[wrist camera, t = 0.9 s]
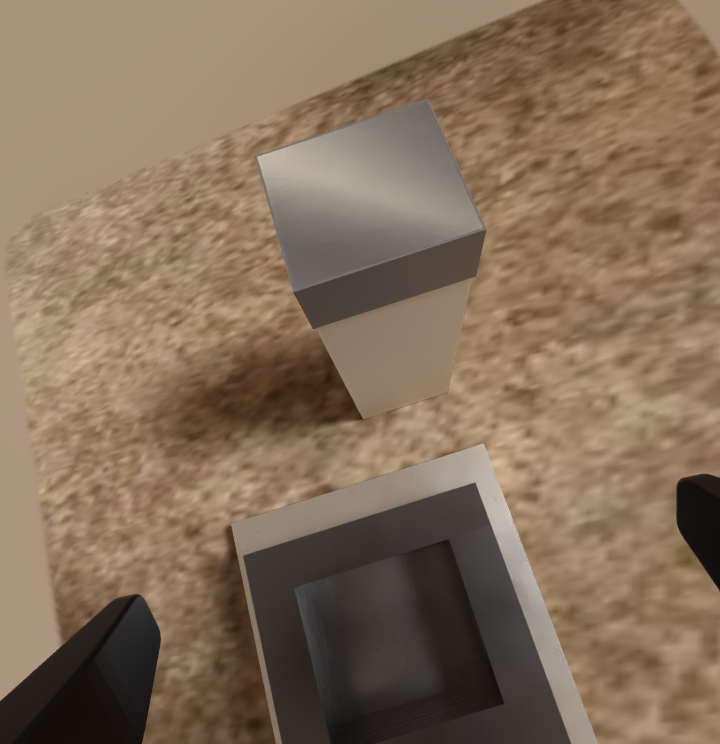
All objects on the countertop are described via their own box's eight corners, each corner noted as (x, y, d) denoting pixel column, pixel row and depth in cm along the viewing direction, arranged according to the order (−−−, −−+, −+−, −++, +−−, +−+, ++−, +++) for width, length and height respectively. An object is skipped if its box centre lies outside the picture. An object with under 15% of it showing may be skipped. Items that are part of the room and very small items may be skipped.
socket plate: (590, 736, 18) (635, 792, 14) (301, 824, 18) (271, 902, 14) (480, 447, 22) (493, 430, 18) (239, 523, 22) (201, 523, 18)
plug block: (449, 392, 22) (486, 229, 10) (362, 420, 22) (293, 292, 10) (423, 322, 24) (428, 98, 11) (340, 349, 24) (254, 155, 11)
